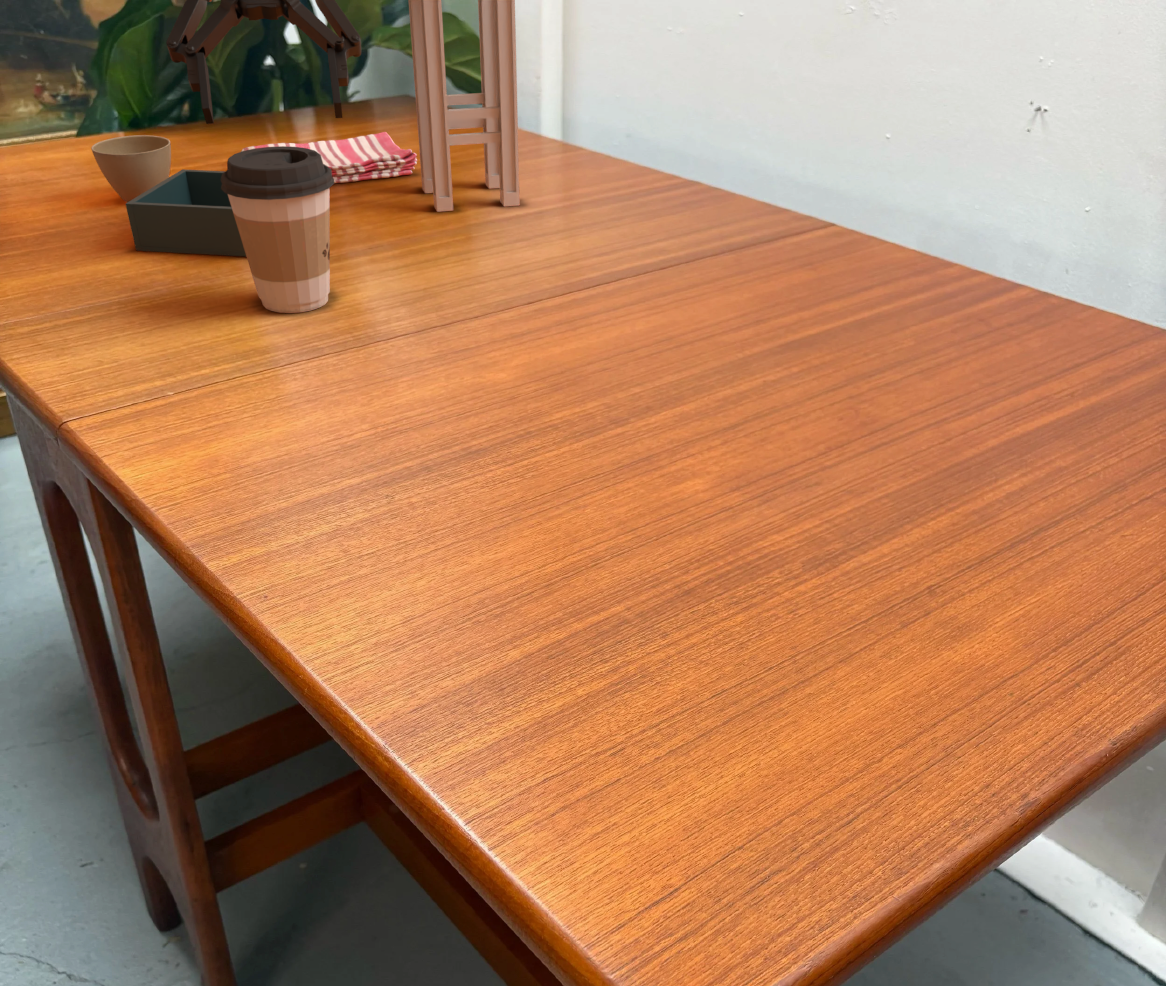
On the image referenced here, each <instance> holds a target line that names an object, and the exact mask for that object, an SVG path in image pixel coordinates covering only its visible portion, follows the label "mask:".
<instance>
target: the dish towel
mask: <svg viewBox="0 0 1166 986" xmlns="http://www.w3.org/2000/svg"><path fill="white" fill-rule="evenodd" d="M279 146H286V147H301V148H307V149H311V150H314V151H316V152H317V153H319V154H320V155H321V158H322V162H323V164H325V165H326V166H328V167H329V168H330V169H331V170H332V177H333V178H334V184H342V183H351V182H354V183H355V182H359V181H368V180H379V179H388V178H395V177H396V178H397V177H401V176H410V175H412V174H413V171H412V170H415V169H416V168H415V166H417V164H418V158H417V157H418V155H417V153H416V152H413V150H412V149H411V148H407V149H404V148H400V146H399V145H397V144H396V143H395V142H394V141H393V139H392V138H391V136H390V135H389V134H388V133H387V132H386V131H382V132H381V131H380V132H379V133H371V134H367V135H359V136H356V137H349V138H345V139H337V140H336V139H332V140H331V139H329V140H318V141H311V142H306V143H296V142H278V143H267V144H261V145H251V146H246V147H243V148H242V150H241V151H240V152H242V151H246V150H250V149H255V148H264V147H279Z"/></svg>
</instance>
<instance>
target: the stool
mask: <svg viewBox="0 0 1166 986" xmlns="http://www.w3.org/2000/svg"><path fill="white" fill-rule="evenodd" d="M442 7H443V6H442V0H408V14H409V25H410V39H411V41H410V42H411V53H412V54H411V55H412V66H413V68H412V69H413V81H414V94H415V95H414V96H415V107H416V108H415V109H416V122H417V134H418V136H417V137H418V148H419V149H418V150H419V162H420V177H421V178H420V179H421V190H422V191H423V193H424V194H433V195H432V196H433V207H434V209H435V211H436V212H439V213H440V212H451V211H453V212H454V196H453V180H452V162H451V146H465V145H467V146H468V145H479V144H481V145H483V156H484V157H483V158H484V159H483V161H484V180H485V181H484V183H485V186H486V187H487V188H488V189H499V202H500V203H501V205H502V206H503V207H515V206H521V205H520V204H521V202H520V163H519V162H520V160H519V159H520V157H519V122H518V120H519V119H518V118H519V117H518V78H517V77H518V75H517V35H516V0H477V10H478V11H477V13H478V35H479V36H478V37H479V55H480V56H479V57H480V58H479V59H480V61H479V62H480V82H481V84H480V86H481V87H480V88H481V92H476V93H456V94H448V93H447V92H448V90H447V75H446V58H445V40H444V24H443V23H444V22H443V8H442ZM462 105H481V107H466V108H448V106H462ZM478 128H482V132H468V133H454V134H453V133H451V134H450V130H461V129H463V130H464V129H478Z"/></svg>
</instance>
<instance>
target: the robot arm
mask: <svg viewBox="0 0 1166 986" xmlns="http://www.w3.org/2000/svg"><path fill="white" fill-rule="evenodd" d="M212 1H213V0H185V1H184V3H183V6H182V7H181V9H180V11H179V14H178V16H177V18H176V21H175V23H174V25H173V27H172V29H171V31H170V33H169V35H168V37H167V40H166V42H165V44H166V47H167V50H168V53H169V57H170V59H171V62H173V63H176V64H178V63H185V64H186V70H187V80H188V84H189V87H190V89H191V91H192V92H193V93H196V92H197V93H198V92H199V93H200V103H201V110H202V113H203V116H204V120H205V123H206V125H209V124H210V125H211V124H215V122H214V112H213V102H212V94H211V93H212V92H211V83H210V75H209V74H210V73H209V67H208V64H207V60H206V59H207V58H208V57H209V55H210V54H211V53H212V52H213V50H214V49H215V48H216V47H217V46H218V44H220V43H221V41H222V40H223V39H224V38H225V36H226V35H227V34H228V33H229V32H230V30H231V29H233V27H237V26H238V25H239V24H240V23H241V21H242V20H243V19H244V18H246V19H248V21H259V20H263V19H264V20H269V21H270V20H271V21H279V18H280V17H283V18H284V19H285V20H287V22H289V23H290V24H291V25H292V26H294V25H295V26H296V27H297V28H298V29H300V30H301V31H302V32H303V34H305V35H306V36H307V37H308V38H309V39H311V40H312V41H313V42H314V43H315V44H316V45H317V46H318V47H320V48H321V49H322V50H323V51H324V52H325V53H326V54H327V60H328V68H329V76H330V84H331V93H332V101H333V108H334V110H333V111H334V117H335V119H343V107H342V100H341V99H342V98H341V92H340V91H341V90H340V87H348V86H349V83H350V80H349V79H350V78H349V69H348V59H350V58H351V57H354V58H359V57H360V56H361V55H362V41H361V35H360V33H359V32H358V31H357V29H356V28H355V27H354V25H353V24H352V22H351V21H350V19H349V18H348V17H347V15H346V14H345V12H344V11H343V9H342V8H341V7H340V6H339V4H338V2H337V1H336V0H314V2H315V4H316V6H317V8H318V9H319V11H320V12H321V14H322V16H323V17H324V18H325V19H326V21H327V22H328V24H329V25H330V27H331V28H332V29H333V30H332V29H331V28H330V27H328V25H326V23H324V22H323V21H322V20H321V19H320V18H319V17H317V16H316V15H315V14H314V13H313V12H312V11H311V10H310V9H308V7H306V6H305V4H303V3H302V2H301V1H300V0H220V3H219V5H218V6H217V8H215V10H214V11H213V12H212V14H211V15H210V16H209V17H208V18H207V19H206V20H205V22H203V24H202V25H201V26H200V27H199V25H200V24H201V21H202V20H203V17H204V14H205V12H206V10H207V7H208V3H211V2H212ZM198 27H199V28H198ZM197 29H198V30H197Z"/></svg>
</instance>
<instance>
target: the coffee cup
mask: <svg viewBox="0 0 1166 986" xmlns="http://www.w3.org/2000/svg"><path fill="white" fill-rule="evenodd" d="M241 151H242V150H241ZM241 151H239V152H236V153H234V154H232V155H231V156H229V157H228V158H227V162H226V164H227V166H226V167H227V168H226V169H227V170H224V171H225V172H224V173H222V176H221V183H222V186H221V190H223V191H224V192H225V193H226V194H228V197H229V200H230V204H231V207H232V210H233V214H234V217H235V220H236V224H237V227H238V230H239V233H240V237H241V240H242V243H243V247H244V250H245V253H246V256H245V257H246V260H247V263H248V267H249V270H250V273H251V276H252V280H253V282H254V283H253V284H254V286H255V289H256V293H257V296H258V298H259V300H260V301H261V303H262V306H263V307H264V308H265V309H266V310H268V311H271V312H275V313H281V314H285V313H286V314H297V313H306V312H310V311H313V310H317V309H319V308H321V307H324V306H325V305H326V304H327V303H328V302H329V294H330V293H331V283H330V281H331V276H330V275H331V267H330V266H331V265H330V263H331V262H330V261H331V256H330V255H331V254H330V253H331V249H330V248H331V247H330V245H331V243H330V242H331V241H330V233H331V232H330V229H331V226H330V220H331V219H330V217H331V216H330V211H331V210H330V208H331V207H330V202H331V201H330V199H331V198H330V195H331V194H330V188H331V187H332V186H333V185H335V183H334V178H333V177H332V170H331V169H330V168H329V167H328V166H326V165H325V164H323V162H322V158H321V155H320V154H319V153H317V152H316V151H314V150H311V149H307V148H301V147H286V146H279V147H264V148H255V149H250V150H246V151H242V152H241Z"/></svg>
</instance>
